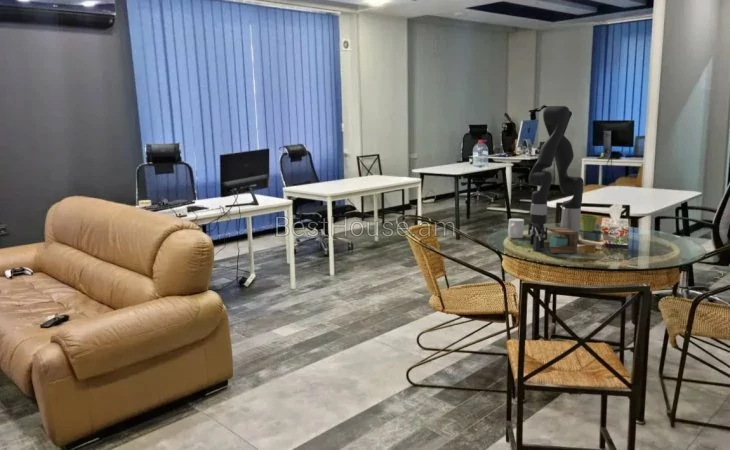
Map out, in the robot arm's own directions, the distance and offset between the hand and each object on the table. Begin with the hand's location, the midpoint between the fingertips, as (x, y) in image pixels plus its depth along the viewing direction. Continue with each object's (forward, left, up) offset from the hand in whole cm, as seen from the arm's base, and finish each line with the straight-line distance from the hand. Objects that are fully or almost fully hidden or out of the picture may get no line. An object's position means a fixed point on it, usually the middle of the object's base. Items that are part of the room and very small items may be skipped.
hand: (536, 246), depth 268 cm
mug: (-34, +5, -3) cm, 35 cm away
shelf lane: (0, +10, -2) cm, 11 cm away
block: (0, +7, -2) cm, 7 cm away
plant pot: (-41, +53, -3) cm, 67 cm away
